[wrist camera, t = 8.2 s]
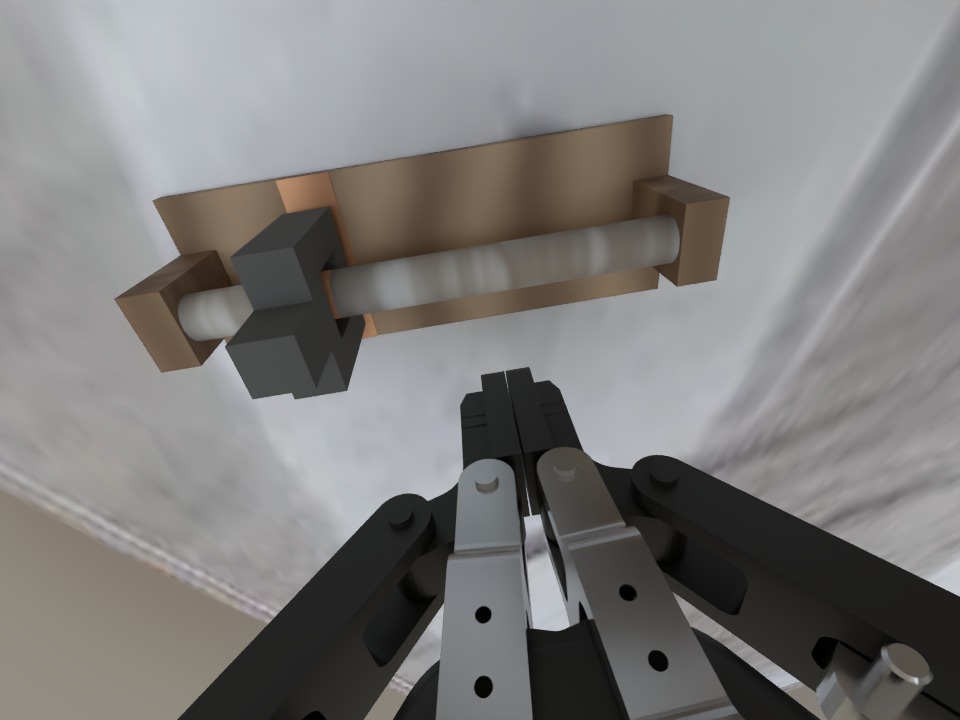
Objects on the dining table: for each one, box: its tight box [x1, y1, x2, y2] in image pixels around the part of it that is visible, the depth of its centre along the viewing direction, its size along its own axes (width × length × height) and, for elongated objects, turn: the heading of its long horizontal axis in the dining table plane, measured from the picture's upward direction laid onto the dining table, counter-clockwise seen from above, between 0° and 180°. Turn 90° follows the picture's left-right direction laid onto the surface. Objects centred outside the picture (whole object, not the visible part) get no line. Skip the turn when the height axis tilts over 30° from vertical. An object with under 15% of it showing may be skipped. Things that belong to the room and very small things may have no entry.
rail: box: [114, 115, 730, 373], centre depth 23 cm, size 28×10×7 cm, turn 98°
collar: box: [225, 207, 366, 399], centre depth 20 cm, size 2×7×10 cm, turn 8°
